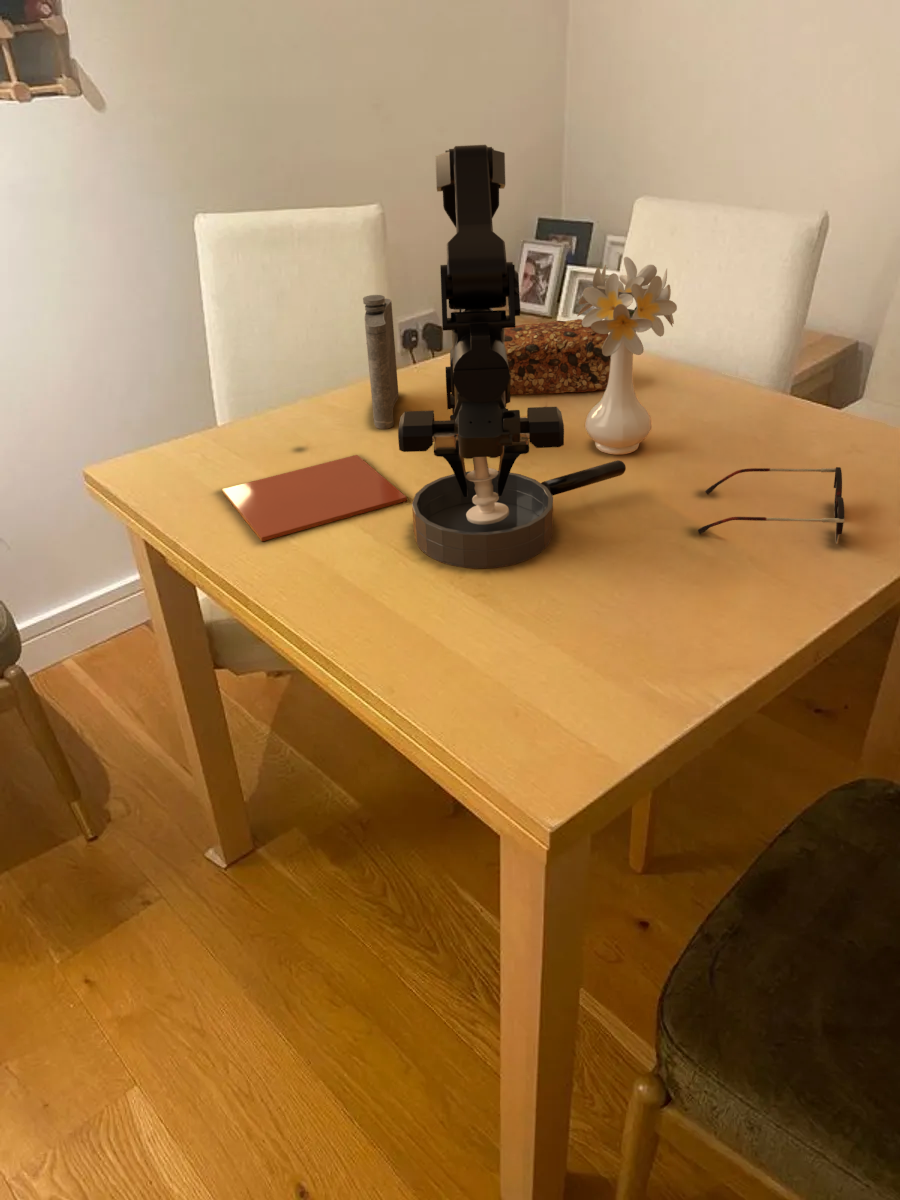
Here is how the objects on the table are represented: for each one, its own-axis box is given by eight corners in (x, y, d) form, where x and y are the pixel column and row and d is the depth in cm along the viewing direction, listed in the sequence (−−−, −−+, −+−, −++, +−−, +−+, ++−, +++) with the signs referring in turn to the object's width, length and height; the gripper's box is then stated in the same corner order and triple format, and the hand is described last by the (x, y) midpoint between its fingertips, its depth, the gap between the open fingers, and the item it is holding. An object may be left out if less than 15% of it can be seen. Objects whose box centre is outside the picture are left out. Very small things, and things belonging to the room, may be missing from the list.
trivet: (357, 458, 139) (356, 454, 139) (407, 501, 127) (406, 496, 127) (222, 493, 131) (221, 489, 131) (261, 541, 119) (261, 537, 119)
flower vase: (580, 477, 131) (587, 290, 117) (568, 424, 146) (573, 253, 133) (678, 474, 130) (695, 285, 117) (655, 421, 146) (669, 249, 132)
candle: (509, 521, 115) (499, 439, 110) (466, 527, 116) (453, 445, 111) (508, 503, 120) (498, 423, 115) (466, 509, 120) (454, 429, 115)
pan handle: (619, 470, 126) (619, 456, 125) (628, 476, 125) (629, 461, 124) (534, 495, 121) (534, 481, 120) (543, 501, 120) (543, 486, 119)
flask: (369, 429, 148) (357, 311, 138) (377, 395, 160) (367, 284, 150) (393, 428, 148) (383, 310, 138) (399, 394, 160) (391, 283, 150)
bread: (603, 371, 165) (606, 312, 159) (610, 394, 156) (613, 332, 151) (493, 374, 166) (492, 316, 160) (494, 397, 157) (493, 336, 151)
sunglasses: (840, 554, 111) (845, 515, 109) (696, 546, 116) (697, 509, 113) (837, 500, 122) (841, 464, 120) (705, 495, 127) (707, 460, 124)
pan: (506, 490, 128) (505, 459, 126) (579, 543, 116) (580, 509, 113) (392, 523, 122) (389, 491, 120) (456, 583, 109) (455, 548, 107)
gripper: (390, 399, 101) (400, 530, 110) (569, 393, 100) (566, 525, 109) (397, 362, 111) (406, 486, 119) (561, 357, 110) (559, 482, 118)
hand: (482, 495), depth 116 cm, fingers closed on candle, 4 cm apart
